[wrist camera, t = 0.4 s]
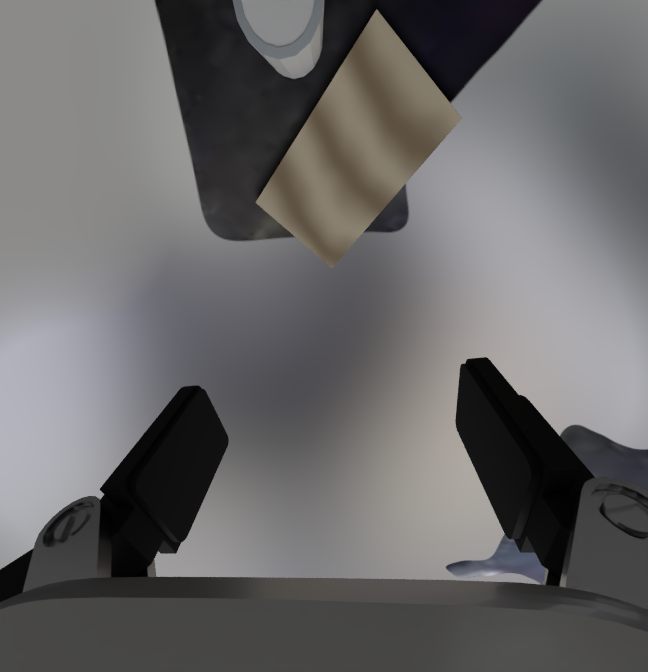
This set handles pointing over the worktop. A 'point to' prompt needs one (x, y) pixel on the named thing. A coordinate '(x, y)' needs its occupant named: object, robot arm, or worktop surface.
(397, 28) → the worktop surface
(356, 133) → the birch board
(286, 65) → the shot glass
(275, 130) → the worktop surface
